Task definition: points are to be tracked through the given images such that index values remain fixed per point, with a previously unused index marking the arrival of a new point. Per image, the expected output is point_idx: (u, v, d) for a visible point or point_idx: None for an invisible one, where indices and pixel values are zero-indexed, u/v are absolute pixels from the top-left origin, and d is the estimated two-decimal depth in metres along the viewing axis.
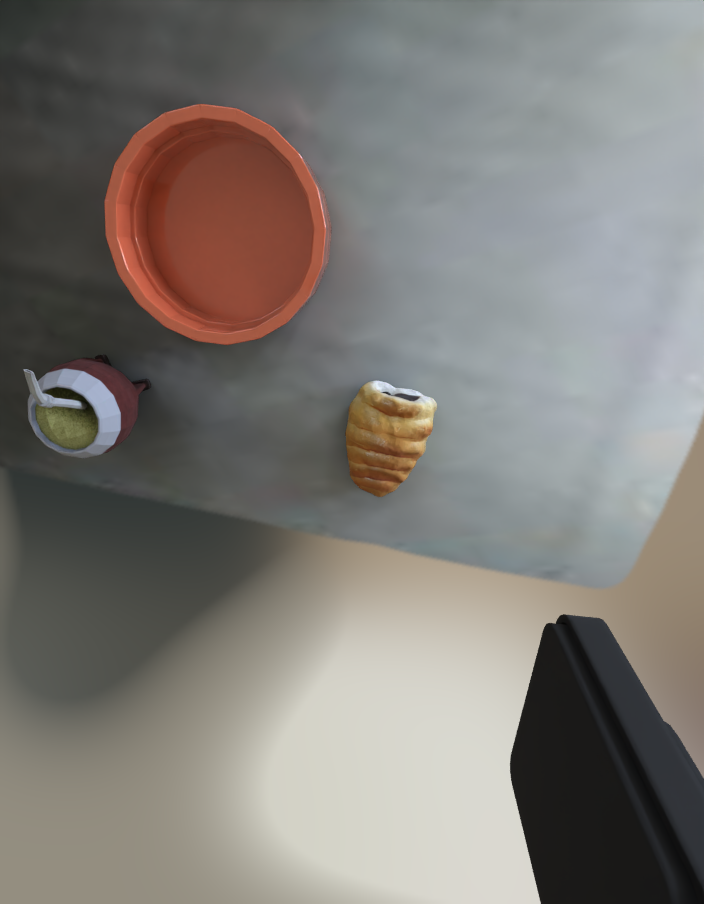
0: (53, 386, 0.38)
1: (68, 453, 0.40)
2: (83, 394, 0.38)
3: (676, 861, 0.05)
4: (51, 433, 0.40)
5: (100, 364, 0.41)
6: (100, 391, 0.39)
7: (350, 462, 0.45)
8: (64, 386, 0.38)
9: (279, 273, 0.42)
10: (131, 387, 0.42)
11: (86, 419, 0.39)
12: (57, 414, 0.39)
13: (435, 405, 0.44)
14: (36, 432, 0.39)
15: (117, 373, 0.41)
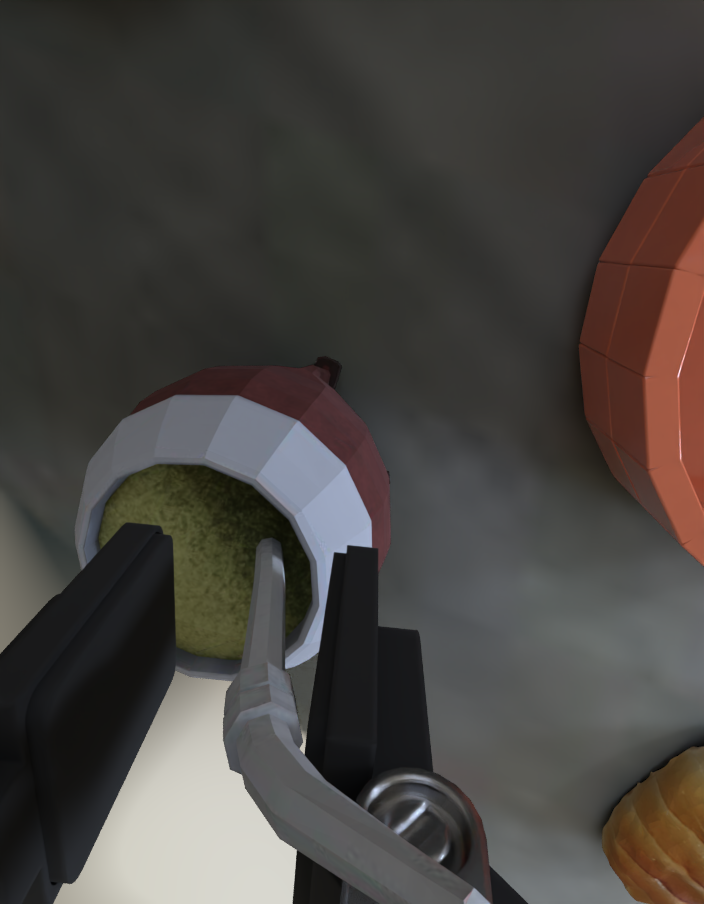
0: (241, 475, 0.10)
1: None
2: (315, 559, 0.10)
3: (324, 704, 0.06)
4: None
5: (370, 437, 0.13)
6: None
7: (646, 835, 0.22)
8: (276, 499, 0.10)
9: None
10: None
11: None
12: (182, 533, 0.11)
13: None
14: (82, 543, 0.11)
15: None
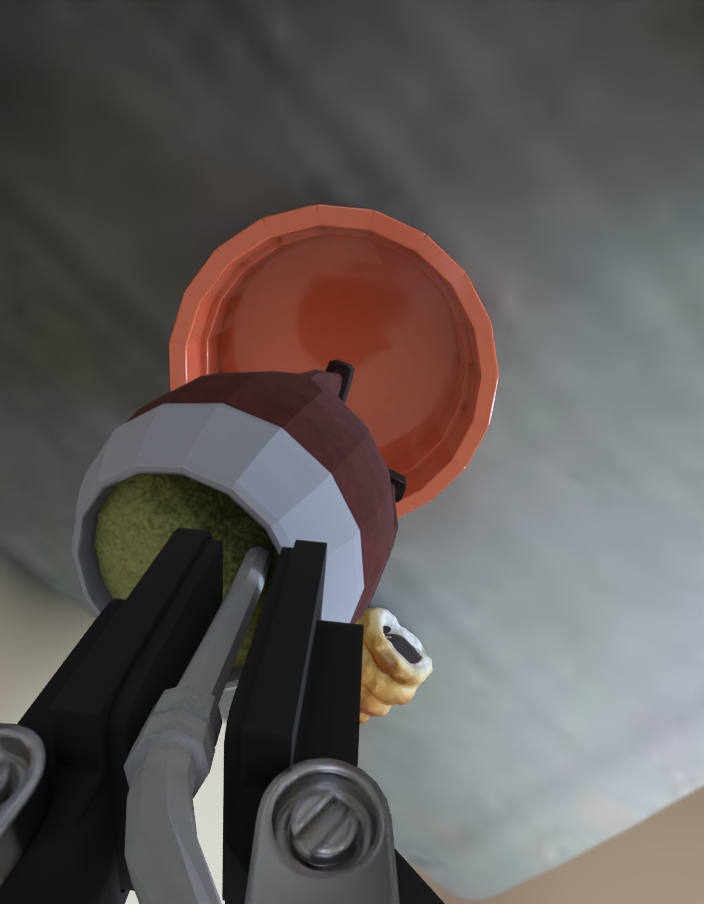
0: (217, 485, 0.10)
1: None
2: None
3: (247, 695, 0.06)
4: (118, 572, 0.12)
5: (368, 443, 0.13)
6: (343, 571, 0.11)
7: None
8: (252, 509, 0.10)
9: None
10: None
11: None
12: None
13: (430, 672, 0.35)
14: (77, 549, 0.11)
15: (390, 488, 0.13)
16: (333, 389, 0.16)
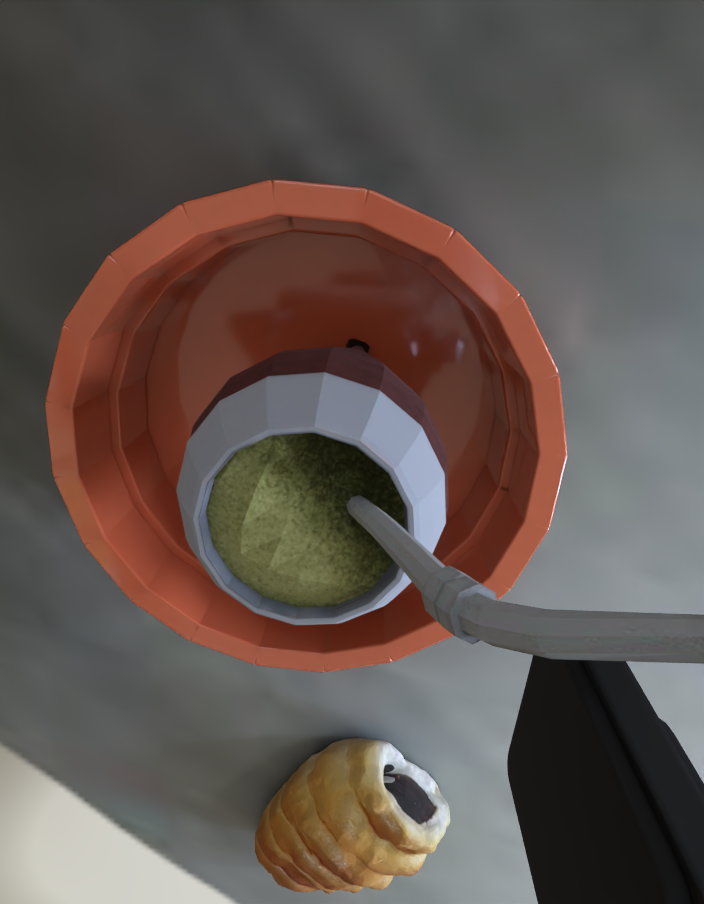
0: (346, 438, 0.12)
1: (243, 603, 0.13)
2: (411, 505, 0.12)
3: (670, 857, 0.05)
4: (232, 532, 0.13)
5: None
6: (437, 505, 0.13)
7: (269, 828, 0.26)
8: (377, 457, 0.12)
9: None
10: None
11: (350, 549, 0.13)
12: (285, 497, 0.13)
13: (447, 825, 0.26)
14: (197, 514, 0.12)
15: None
16: None
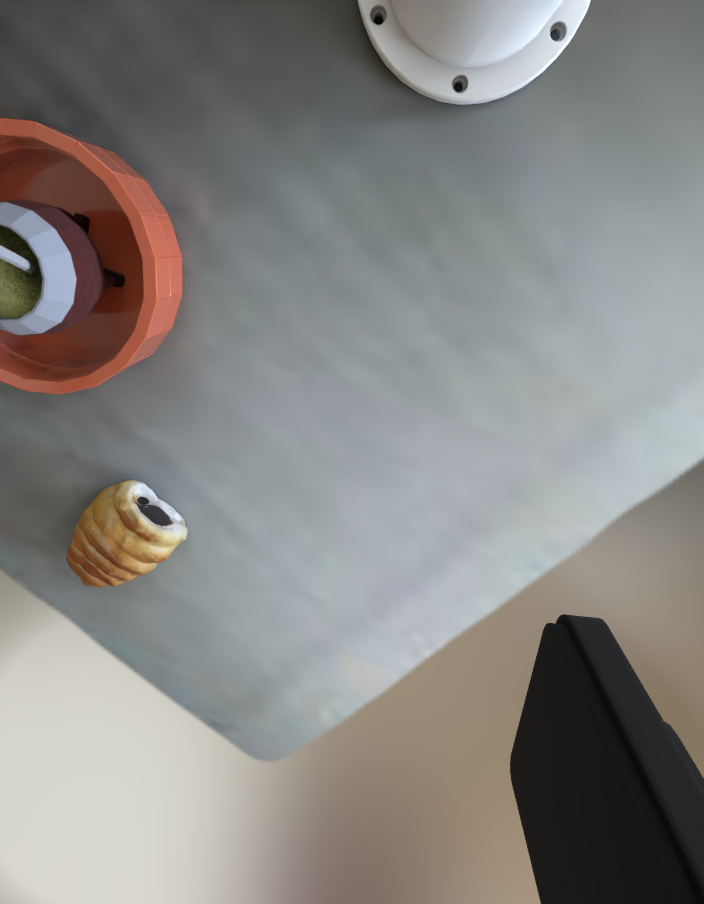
0: (5, 224, 0.27)
1: None
2: (39, 257, 0.28)
3: (676, 861, 0.05)
4: None
5: (79, 230, 0.31)
6: (63, 265, 0.29)
7: (72, 540, 0.41)
8: (19, 233, 0.27)
9: (98, 331, 0.37)
10: (102, 278, 0.32)
11: (25, 287, 0.29)
12: None
13: (183, 538, 0.41)
14: None
15: (95, 253, 0.31)
16: None
